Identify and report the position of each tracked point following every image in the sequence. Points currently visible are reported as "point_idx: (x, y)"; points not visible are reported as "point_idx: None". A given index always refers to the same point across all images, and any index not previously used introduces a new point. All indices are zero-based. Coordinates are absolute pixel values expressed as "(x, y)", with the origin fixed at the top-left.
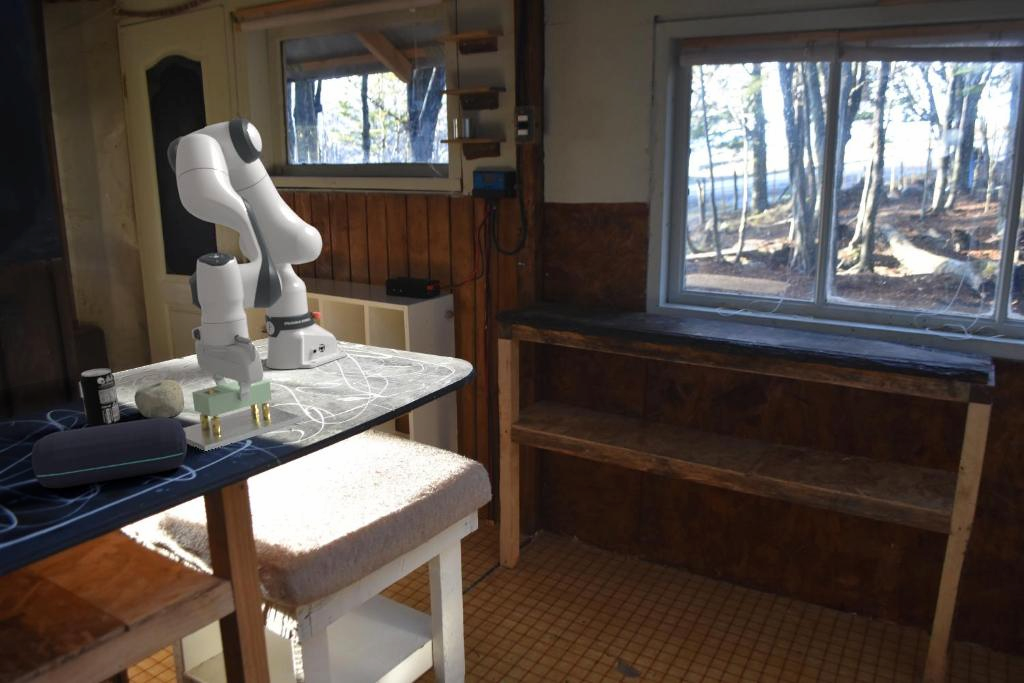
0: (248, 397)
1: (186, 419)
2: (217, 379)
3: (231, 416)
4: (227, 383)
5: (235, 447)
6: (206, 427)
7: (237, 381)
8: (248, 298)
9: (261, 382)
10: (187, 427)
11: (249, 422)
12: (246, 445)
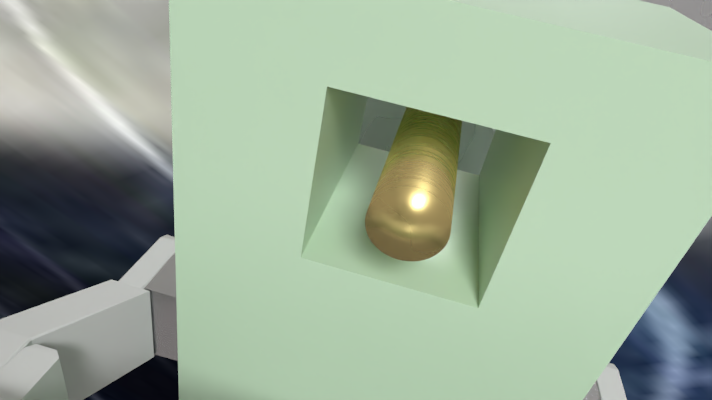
0: (618, 382)
1: (11, 137)
2: (70, 394)
3: None
4: (186, 336)
5: (622, 368)
6: None
7: (208, 247)
8: None
9: (635, 183)
10: None
11: (477, 138)
12: (670, 340)
